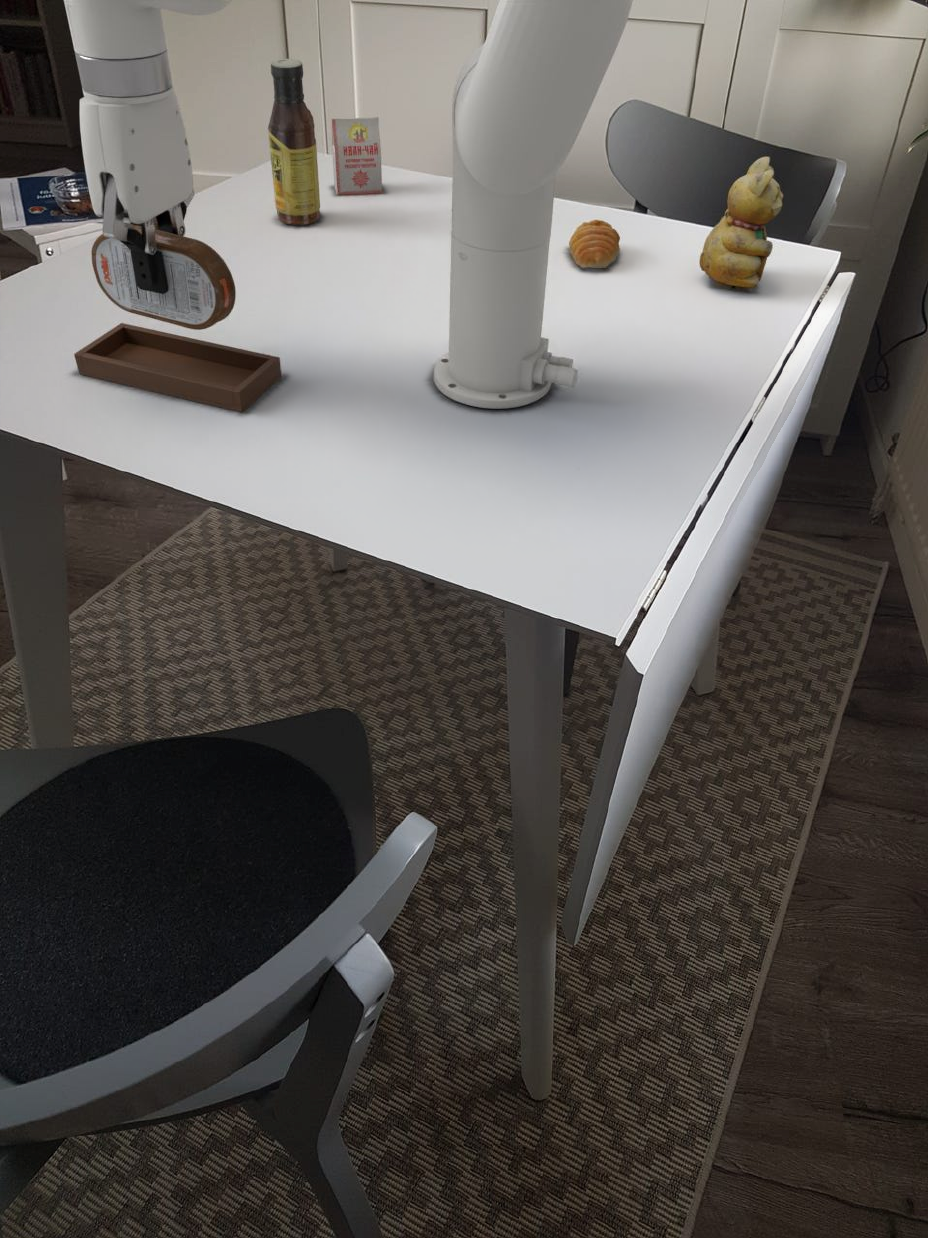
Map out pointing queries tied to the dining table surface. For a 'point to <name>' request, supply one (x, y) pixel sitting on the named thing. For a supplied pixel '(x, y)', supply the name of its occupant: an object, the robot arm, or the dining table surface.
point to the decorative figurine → (743, 230)
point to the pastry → (594, 244)
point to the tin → (168, 281)
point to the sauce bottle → (293, 147)
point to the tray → (180, 366)
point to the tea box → (356, 156)
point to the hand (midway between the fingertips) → (163, 282)
